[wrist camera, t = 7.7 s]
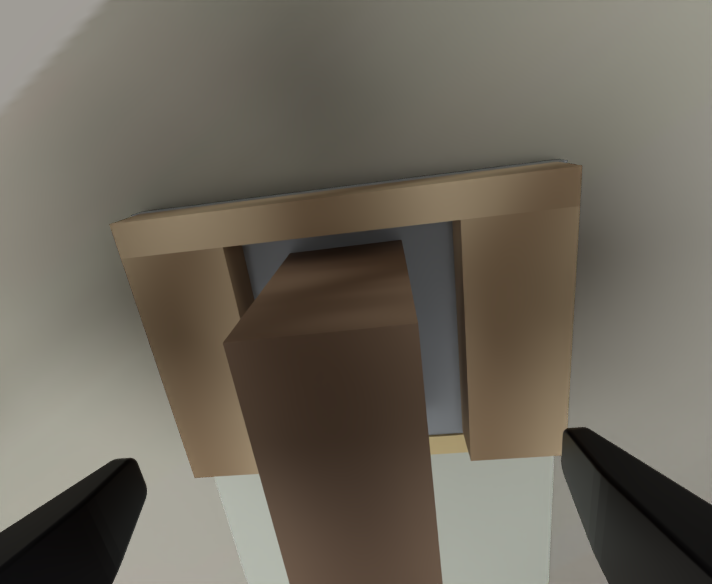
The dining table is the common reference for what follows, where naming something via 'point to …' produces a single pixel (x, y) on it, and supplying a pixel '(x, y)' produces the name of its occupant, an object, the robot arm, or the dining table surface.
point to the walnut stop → (340, 417)
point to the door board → (444, 416)
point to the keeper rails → (362, 213)
